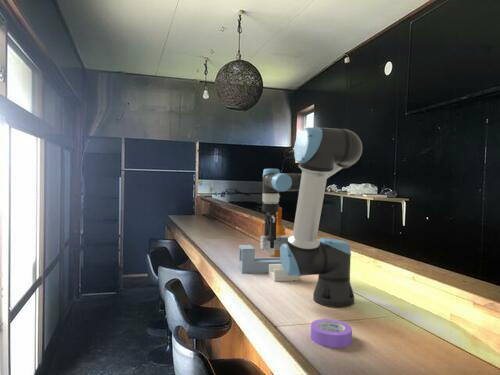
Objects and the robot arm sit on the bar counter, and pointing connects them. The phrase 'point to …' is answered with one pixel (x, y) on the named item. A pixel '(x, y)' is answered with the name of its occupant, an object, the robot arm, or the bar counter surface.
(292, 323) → the bar counter surface
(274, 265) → the cradle
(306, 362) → the bar counter surface
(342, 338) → the masking tape
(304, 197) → the robot arm
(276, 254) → the wine bottle
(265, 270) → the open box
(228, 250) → the bar counter surface
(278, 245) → the grey long rectangular block
